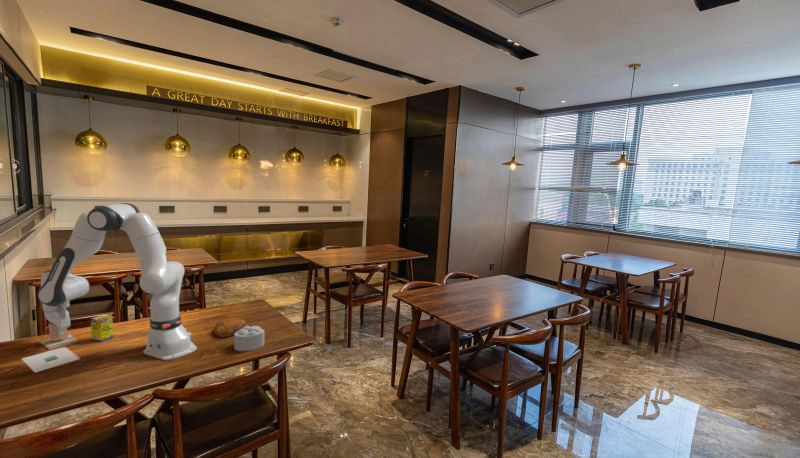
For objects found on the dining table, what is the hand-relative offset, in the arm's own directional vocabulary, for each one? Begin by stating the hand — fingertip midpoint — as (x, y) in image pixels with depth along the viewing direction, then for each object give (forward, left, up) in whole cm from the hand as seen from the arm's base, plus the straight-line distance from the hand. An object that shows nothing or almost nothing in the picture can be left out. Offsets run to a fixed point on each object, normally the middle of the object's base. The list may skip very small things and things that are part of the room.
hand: (58, 332), depth 166 cm
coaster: (0, 0, -5) cm, 5 cm away
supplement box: (-10, -13, -5) cm, 17 cm away
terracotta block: (0, 0, -2) cm, 2 cm away
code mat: (-16, +7, -5) cm, 18 cm away
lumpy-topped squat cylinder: (-69, -50, -5) cm, 85 cm away
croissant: (-47, -54, -5) cm, 72 cm away
